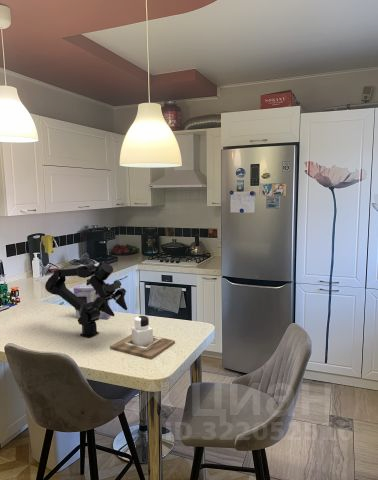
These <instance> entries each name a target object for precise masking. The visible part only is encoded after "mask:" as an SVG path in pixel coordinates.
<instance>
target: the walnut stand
mask: <svg viewBox="0 0 378 480" xmlns="http://www.w3.org/2000/svg"><path fill="white" fill-rule="evenodd" d="M175 343H176V340H173V339H168V338H164V337H160V336H155V335H153V343H151V344H150V345H147V346H143V347H142V346H138V345H135V344H134V343H133V342H132V333H131V334H130V335H128V336H126V337H124V338H123V339H121V340H119V341H117V342H115V343H114V344H112V345H110V346H109V349H110V350H113V351H117V352H121V353H125V354H130V355H133V356H137V357H141V358H144V359H149V360H153V359H155V358H156V357H157V356H158V355H160V354H161V353H163V352H164V351H166V350H168V349H169V348H170V347H172V346H173V345H174V344H175Z"/></svg>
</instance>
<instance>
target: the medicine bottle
mask: <svg viewBox="0 0 378 480" xmlns="http://www.w3.org/2000/svg"><path fill="white" fill-rule="evenodd" d="M149 320H150V319H149V317H148V316H145V315H138V316H136V317H135V318H134V326H132V327H131V334H132V342H133V343H134V344H135V345H138V346H142V347H143V346H147V345H150V344H151V343H153V336H154V335H153V333H154V331H153V328H152V327H150V324H149V323H150V321H149Z"/></svg>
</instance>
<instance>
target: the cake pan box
mask: <svg viewBox="0 0 378 480" xmlns="http://www.w3.org/2000/svg"><path fill="white" fill-rule="evenodd" d="M95 292H96V291H95V290H94V288H93V287H92V286H91V284H90V285H85V284H84V285H79V284H78V285H75V286H74V287H73V293H74V294H75V295H76V296H77V297H79V298H80V299H81V300H83V301H84V302H85V303H89V302H94V301H95V299H96V298H98V297H100V296H99V295H98V294H97V295H96V294H95ZM108 305H109V307H110V306H111V305H110V300H109V301H108ZM110 308H111V307H110ZM74 310H75V316H76V317H75V318H76V319H79V318H80V317H81V316H80V314H79V311H78V310H77V309H76V308H74ZM110 317H112V316H111V315H109V314H107V313H104V312H102V311H100V316H99V319H100V320H101V319H102V320H103V319H104V320H107V319H109V318H110ZM99 319H98V320H99Z"/></svg>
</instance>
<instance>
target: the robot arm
mask: <svg viewBox="0 0 378 480" xmlns="http://www.w3.org/2000/svg"><path fill="white" fill-rule="evenodd" d="M113 272H114V268H113V266H112V265H111V264H109V263H107V262H105V261H101V262H100V263H99V265H98V266H96V265H95V264H94V263H88V264H85V265H81V266H76V267H75V266H74V267H66V268H65V267H61V268H57V269H55V270H54V271H53V273H52V274H51V276H50V277H48V279H47V281H46V282H45V285H44V288H45V290H46V292H47V293H50V294H51V295H55V296H59V297H60V298H62V299H63V300H64V301H65V302H67V303H68V304H69V305H71V307H73V308H74V309H75V308H76V309H77V310H78V311H79V314H80V316H81V317H80V318H77V322H78V325H81V333H80V334H79V336H82V337H85V338H88V339H89V338H92V337H95V336H96V335H98V334H99V333H100V332H99V331H98V330H97V329H98V327H97V326H98V325H97V321H99V316H100V311H102V312H104V313H107V314H109V315H111V316H110V317H115V313H114V311H113V310H112V308H111V307H109V305H108V301H109V302H110V300H113V301H115V303H116V304H117V305H118V306H120V307H121V308H122V309H123V310H125V311H128V306H127V303H126V301H125V296H126V293H127V290H126V289H125V288H124V287H121V286H122V282H121V281H120V280H119V279H115V280H113V283H109V282H106V281H107V279H108V278H109V277H110V276H111V275H112V273H113ZM66 277H78V278H82V279H86V283H85V284H86V285H85V286H88V285H91V286H92V287H93V288H94V290H95V291H96V292H95V294H96V295H97V294H98V295H99V296H100V297H98V298H96V299H95V301H94V302H89V303H85V302H84V301H83V300H81V299H80V298H79V297H77V296H76V295H75V294H74V292H72V291H71V290H70V289H68V288H67V286H66ZM88 277H89V278H88Z"/></svg>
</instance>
